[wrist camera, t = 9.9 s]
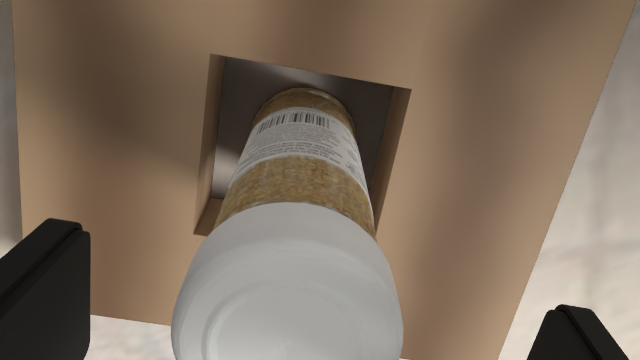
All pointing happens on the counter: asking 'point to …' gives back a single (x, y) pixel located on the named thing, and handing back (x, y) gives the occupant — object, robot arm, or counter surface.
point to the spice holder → (329, 58)
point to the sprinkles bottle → (292, 249)
